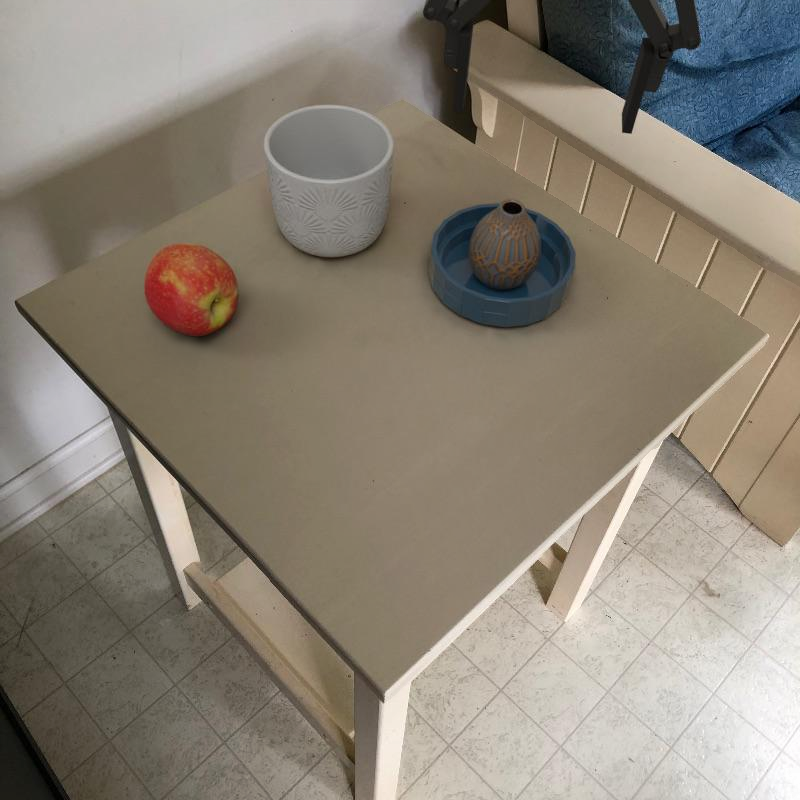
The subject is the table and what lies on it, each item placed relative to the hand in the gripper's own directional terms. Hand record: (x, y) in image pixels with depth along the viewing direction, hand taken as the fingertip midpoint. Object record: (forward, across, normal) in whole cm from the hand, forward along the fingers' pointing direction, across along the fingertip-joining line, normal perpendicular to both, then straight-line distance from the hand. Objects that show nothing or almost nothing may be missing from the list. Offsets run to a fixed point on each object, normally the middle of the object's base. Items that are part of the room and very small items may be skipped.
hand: (542, 114), depth 67 cm
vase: (+19, +1, -1) cm, 19 cm away
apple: (+20, +29, +10) cm, 37 cm away
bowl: (+20, +1, -1) cm, 20 cm away
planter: (+20, +19, -5) cm, 28 cm away
